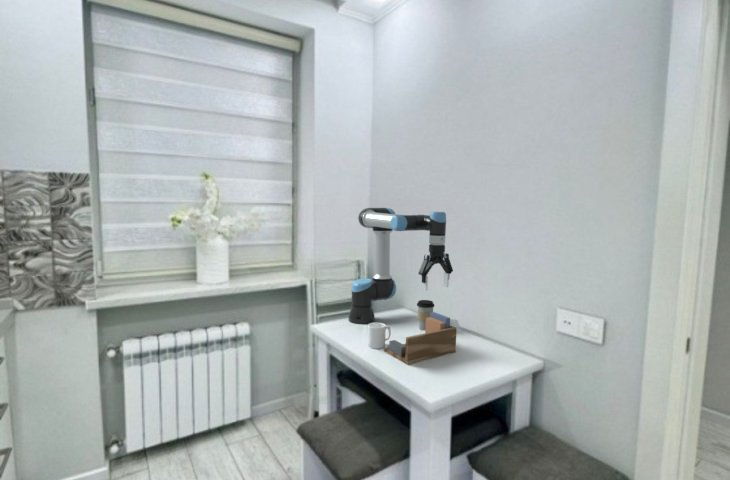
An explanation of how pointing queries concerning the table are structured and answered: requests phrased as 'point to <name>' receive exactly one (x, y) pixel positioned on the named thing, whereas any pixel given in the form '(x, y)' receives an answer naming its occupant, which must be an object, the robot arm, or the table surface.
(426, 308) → the coffee cup
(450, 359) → the table surface
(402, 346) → the grey rectangular block
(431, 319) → the books
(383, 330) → the cup
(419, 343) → the wooden book rack
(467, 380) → the table surface
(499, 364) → the table surface
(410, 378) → the table surface
